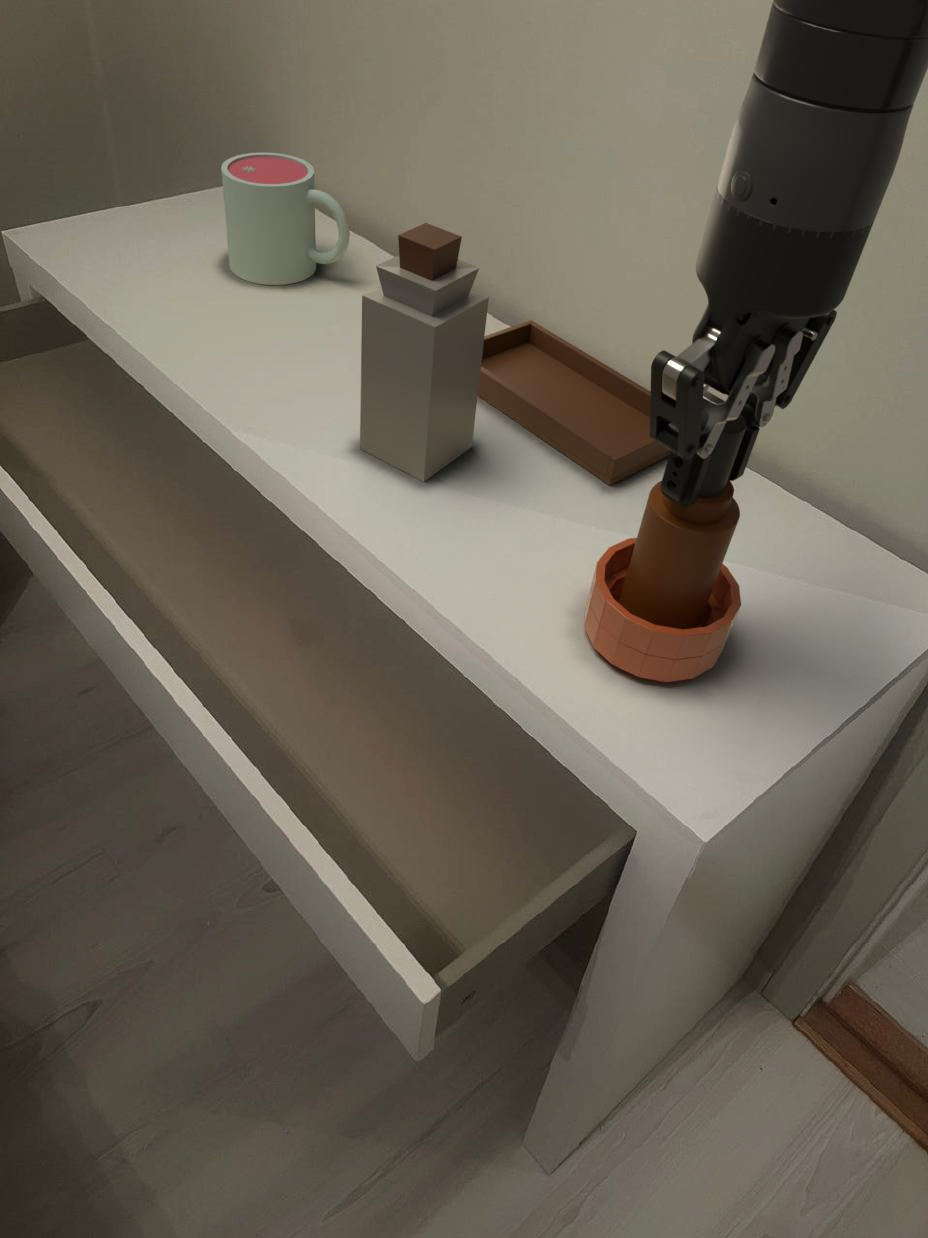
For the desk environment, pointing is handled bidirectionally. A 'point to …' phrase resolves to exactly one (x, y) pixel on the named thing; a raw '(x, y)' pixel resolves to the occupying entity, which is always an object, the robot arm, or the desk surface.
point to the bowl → (649, 644)
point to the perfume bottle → (421, 354)
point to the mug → (275, 218)
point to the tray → (569, 400)
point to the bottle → (685, 543)
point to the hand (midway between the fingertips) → (701, 484)
